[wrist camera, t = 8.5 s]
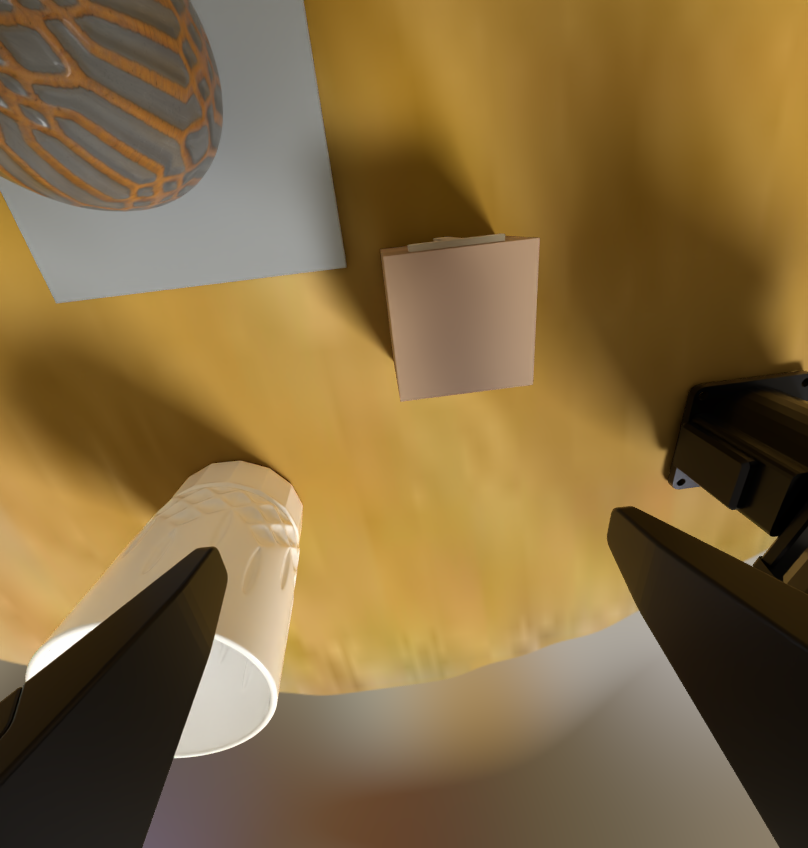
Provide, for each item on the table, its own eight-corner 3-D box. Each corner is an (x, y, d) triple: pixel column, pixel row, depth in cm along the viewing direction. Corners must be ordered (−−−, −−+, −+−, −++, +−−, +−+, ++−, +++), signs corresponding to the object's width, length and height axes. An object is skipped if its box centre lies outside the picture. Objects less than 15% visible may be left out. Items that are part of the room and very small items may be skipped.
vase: (69, 209, 15) (-274, 188, 7) (-8, -54, 12) (-780, -632, 4) (258, 220, 15) (141, 211, 8) (232, -28, 12) (-12, -482, 4)
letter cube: (495, 230, 17) (540, 230, 12) (495, 348, 19) (532, 384, 15) (379, 243, 17) (382, 249, 12) (393, 360, 19) (400, 401, 15)
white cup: (202, 423, 20) (61, 585, 11) (339, 490, 22) (317, 668, 13) (148, 528, 22) (-2, 729, 13) (276, 578, 25) (222, 776, 16)
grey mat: (275, -172, 11) (270, -192, 11) (346, 266, 17) (345, 267, 16) (-143, -130, 11) (-167, -147, 11) (66, 301, 17) (56, 303, 16)
